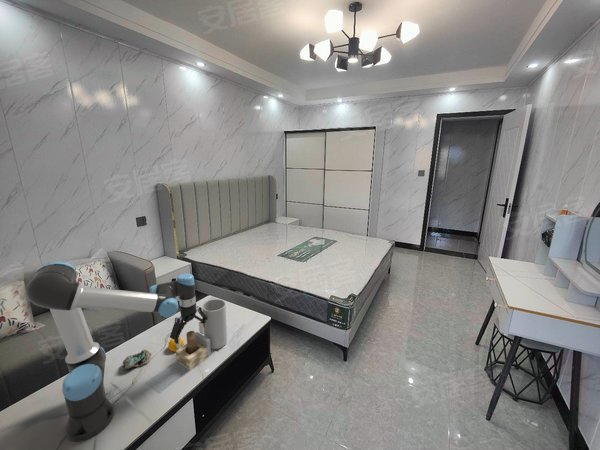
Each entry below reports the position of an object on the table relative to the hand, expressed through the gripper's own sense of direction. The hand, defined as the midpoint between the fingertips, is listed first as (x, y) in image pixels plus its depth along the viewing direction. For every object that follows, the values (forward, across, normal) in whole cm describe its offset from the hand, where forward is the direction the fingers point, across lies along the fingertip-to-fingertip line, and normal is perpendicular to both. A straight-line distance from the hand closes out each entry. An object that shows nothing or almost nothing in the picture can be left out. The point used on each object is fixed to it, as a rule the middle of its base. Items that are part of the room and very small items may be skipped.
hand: (190, 340), depth 136 cm
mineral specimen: (+13, -17, +21) cm, 30 cm away
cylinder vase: (+13, +17, +1) cm, 21 cm away
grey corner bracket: (+13, -7, 0) cm, 15 cm away
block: (+12, 0, 0) cm, 12 cm away
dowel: (+10, 0, 0) cm, 10 cm away
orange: (+13, +1, +15) cm, 20 cm away
